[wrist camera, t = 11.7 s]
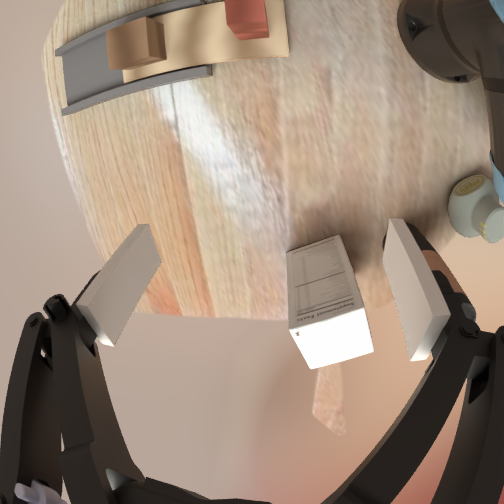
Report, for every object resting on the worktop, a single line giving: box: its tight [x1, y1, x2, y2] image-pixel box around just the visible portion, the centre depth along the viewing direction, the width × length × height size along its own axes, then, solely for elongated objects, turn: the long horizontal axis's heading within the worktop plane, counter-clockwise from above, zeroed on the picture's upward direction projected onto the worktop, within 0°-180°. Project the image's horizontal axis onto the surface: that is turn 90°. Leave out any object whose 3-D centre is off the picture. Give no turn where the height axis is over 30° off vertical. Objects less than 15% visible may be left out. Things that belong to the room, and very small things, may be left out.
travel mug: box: [383, 223, 476, 322], centre depth 34 cm, size 8×8×20 cm
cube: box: [106, 16, 167, 70], centre depth 25 cm, size 6×6×6 cm
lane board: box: [55, 0, 213, 116], centre depth 29 cm, size 24×12×3 cm, turn 95°
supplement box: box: [286, 234, 374, 369], centre depth 39 cm, size 10×9×17 cm
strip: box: [123, 0, 289, 83], centre depth 23 cm, size 22×9×10 cm, turn 95°
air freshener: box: [448, 174, 504, 243], centre depth 32 cm, size 11×8×10 cm
